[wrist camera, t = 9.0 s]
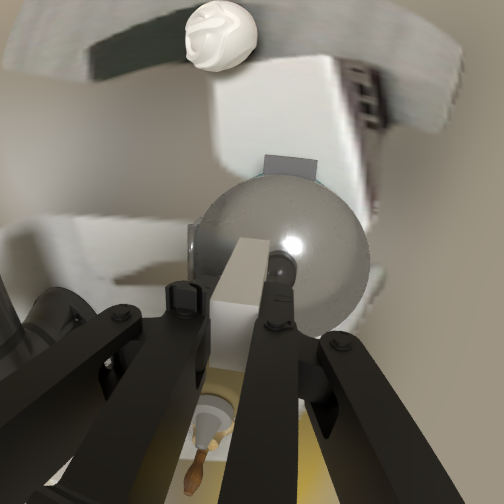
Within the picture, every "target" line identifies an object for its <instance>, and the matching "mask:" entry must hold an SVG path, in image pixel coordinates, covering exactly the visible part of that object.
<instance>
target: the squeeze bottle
mask: <svg viewBox="0 0 504 504" xmlns="http://www.w3.org/2000/svg"><path fill="white" fill-rule="evenodd" d="M244 374H245V372H240V371H233V370H226V369H219V368H213V367H209V359H208V362H207V365H206V379H205V382H204V385H203V388H202V391H201V394H200V397H199V400H198V403H197V406H196V409H195V412H194V415H193V418H192V421H191V423H193V424H194V425H195V426H196V431H195V447H196V448H198V449H200V450H206V449H207V447H208V446H209V444H210V442H211V441H212V439H213V438H214V436H215V434H216V433H217V432H222V431H225V430H227V429H228V428H229V427H230V426H231V424H232V420H233V418H235V417H236V414H237V409H238V404H239V399H240V394H241V389H242V384H243V379H244Z"/></svg>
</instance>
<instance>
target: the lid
mask: <svg viewBox="0 0 504 504" xmlns="http://www.w3.org/2000/svg"><path fill="white" fill-rule="evenodd" d="M240 237H243V238H253V239H263V240H270V248H269V258H268V267H267V277H266V281H268V282H277V283H286V284H289V285H290V286H291V287H292V289H293V290H294V321H295V322H296V325H297V329H298V330H299V331H300V332H301V333H303V334H305V335H307V336H309V337H312V338H315V337H317V336H320V335H322V334H324V333H326V332H328V331H330V330H332V329H333V328H335V327H336V326H338V325H339V324H340V323H341V322H343V321H344V320H345V319H346V318H347V317H348V316H349V315H350V314H351V312H352V311H353V310H354V309H355V307H356V306H357V304H358V303H359V301H360V300H361V297H362V295H363V293H364V291H365V288H366V285H367V282H368V277H369V271H370V254H369V246H368V243H367V239H366V236H365V233H364V231H363V228H362V226H361V224H360V222H359V220H358V219H357V217H356V216H355V214H354V212H353V211H352V210H351V209H350V207H349V206H348V205H347V204H346V203H345V202H344V201H343V200H342V199H341V198H340V197H339V196H338V195H337V194H335V193H334V192H332V191H331V190H329V189H328V188H327V187H325V186H323V185H321V184H319V183H317V182H315V181H312V180H309V179H306V178H303V177H298V176H293V175H280V174H276V175H265V176H261V177H256V178H252V179H250V180H247V181H245V182H242V183H240V184H238V185H237V186H235V187H233V188H231V189H230V190H228V191H227V192H225V193H224V194H223V195H222V196H220V197H219V198H218V199H217V200H216V201H215V202H214V203H213V204H212V205H211V206H210V208H209V209H208V211H207V212H206V213H205V215H204V217H203V219H202V220H201V222H200V224H199V227H198V225H196V224H189V225H188V249H187V263H188V280H190V281H195V280H196V279H198V278H199V277H201V276H203V275H209V276H217V277H221V276H222V274H223V271H224V269H225V267H226V265H227V263H228V261H229V259H230V257H231V255H232V253H233V251H234V249H235V247H236V245H237V243H238V241H239V238H240Z"/></svg>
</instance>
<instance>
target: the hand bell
mask: <svg viewBox="0 0 504 504" xmlns="http://www.w3.org/2000/svg"><path fill="white" fill-rule="evenodd" d="M191 424H192V426H193V429H194V432H193V438H192V441H193V443H194V445H195V431H196V426H195V425H194V424H193V423H191ZM234 424H235V422H234V420H232V424H231V426H230V427H229V428H228V429H227V430H225V431H222V432H217V433H216V434H215V436H214V438H213V439H212V441H211V442H210V444H209V446H208V447H207V449H206V450H200V449H198V450H197V452H196V456H195V459H194V462H193V464H192V465H191V467H190V468H189V469H188V471H187V473H186V475H185V478H184V494H185V495H186V496H192V495H193V493H194V492H195V491H196V490H197V489H198V487H199V486H200V484H201V481H202V477H203V463H204V460H205V458H206V455H207V453H208V451H212V450H215V449H217V448H218V446H219V444H220V442H221V440H222V438H223V437H224V436H226V435H228V434H230V433H231V432H232V431H233V428H234Z"/></svg>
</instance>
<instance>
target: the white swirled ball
mask: <svg viewBox="0 0 504 504" xmlns="http://www.w3.org/2000/svg"><path fill="white" fill-rule="evenodd" d="M185 31H186V50H187V55H186V58H187V59H188V60H190V61H191V62H192V63H194V66H195V67H197V68H199V69H202V70H206V71H214V72H220V71H222V70H225V69H229V68H232V67H234V66H236V65H238V64H240V63H241V62H243V61H244V60H245V59H246V58H247V57H248V56H249V54H250V53H251V52H252V50H254V49H255V47H256V44H257V27H256V24H255V22H254V19H253V18H252V16H251V15H250V13H249V12H248V11H247V10H245V9H244V8H243V7H241V6H239V5H237V4H235V3H232V2H228V1H212V2H209V3H206V4H204V5H202V6H201V7H199V8H198V9H197V10H196V11H195V12H194V13H193V14H192V15H191V16H190V18H189V20H188V22H187V24H186V27H185Z"/></svg>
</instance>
